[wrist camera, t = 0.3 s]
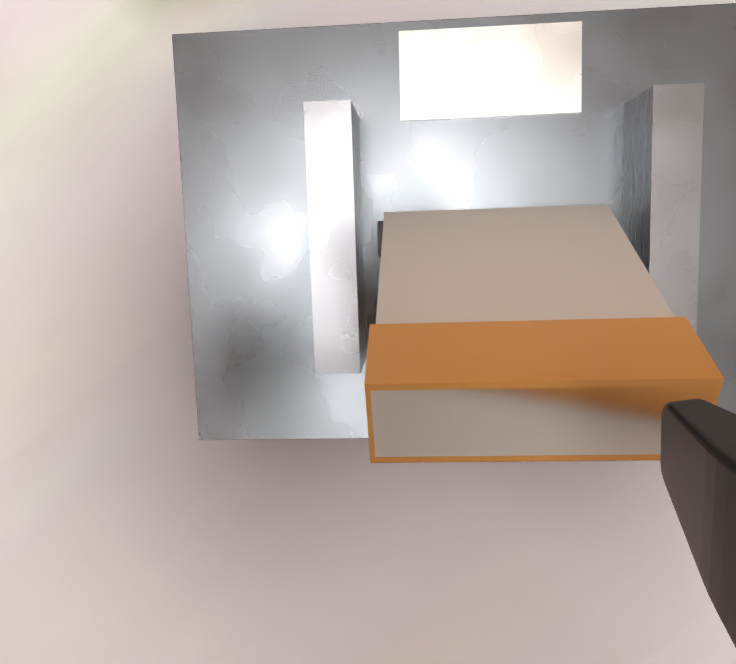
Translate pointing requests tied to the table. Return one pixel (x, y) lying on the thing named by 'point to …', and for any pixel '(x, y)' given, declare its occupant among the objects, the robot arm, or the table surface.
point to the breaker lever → (522, 340)
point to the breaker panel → (434, 179)
